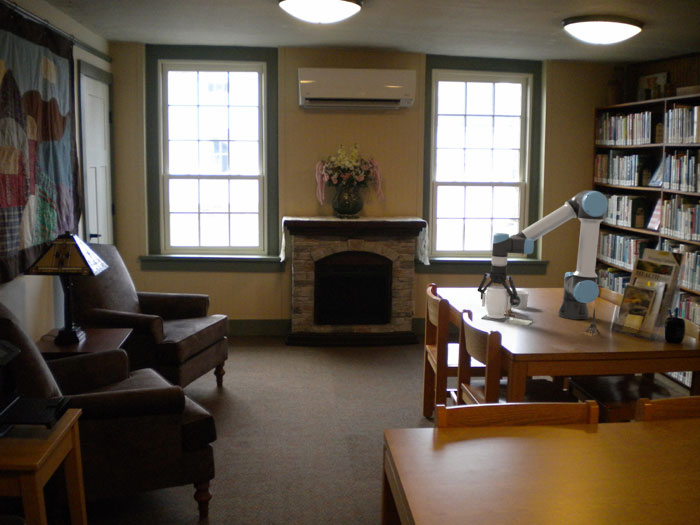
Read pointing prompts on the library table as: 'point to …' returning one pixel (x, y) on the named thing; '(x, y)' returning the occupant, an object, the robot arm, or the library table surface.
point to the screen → (508, 312)
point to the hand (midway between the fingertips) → (496, 307)
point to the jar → (496, 301)
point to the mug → (520, 300)
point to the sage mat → (520, 321)
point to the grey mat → (495, 319)
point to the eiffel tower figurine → (593, 324)
